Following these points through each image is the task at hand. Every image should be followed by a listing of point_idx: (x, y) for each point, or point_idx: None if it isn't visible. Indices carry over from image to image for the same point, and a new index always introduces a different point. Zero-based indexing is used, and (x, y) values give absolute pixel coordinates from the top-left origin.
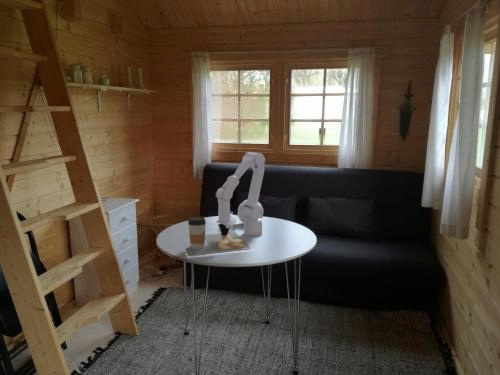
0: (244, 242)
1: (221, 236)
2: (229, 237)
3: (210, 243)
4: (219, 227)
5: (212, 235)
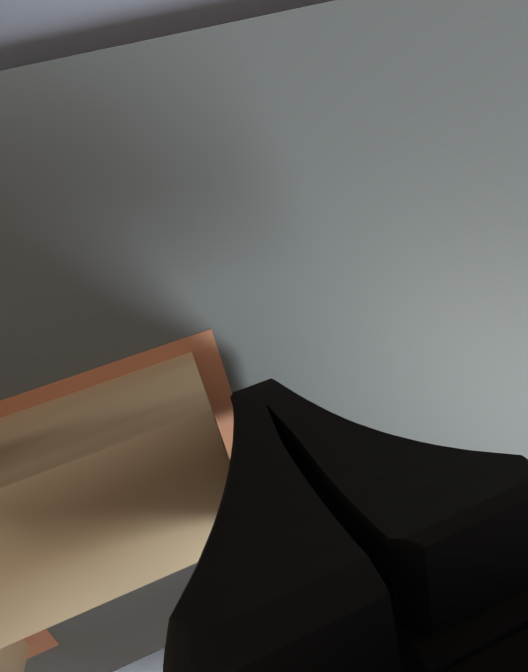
0: (126, 652)
1: (174, 413)
2: (49, 592)
3: (17, 133)
4: (411, 466)
5: (512, 179)
